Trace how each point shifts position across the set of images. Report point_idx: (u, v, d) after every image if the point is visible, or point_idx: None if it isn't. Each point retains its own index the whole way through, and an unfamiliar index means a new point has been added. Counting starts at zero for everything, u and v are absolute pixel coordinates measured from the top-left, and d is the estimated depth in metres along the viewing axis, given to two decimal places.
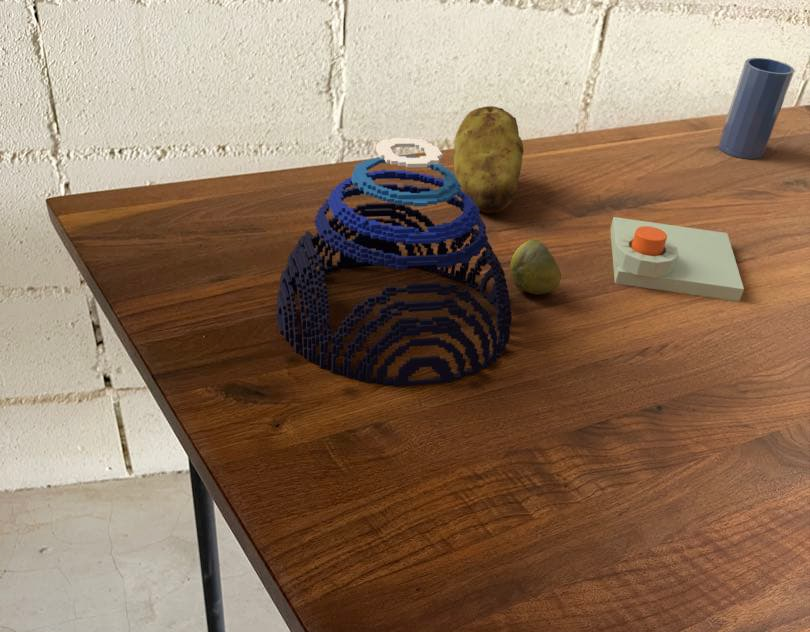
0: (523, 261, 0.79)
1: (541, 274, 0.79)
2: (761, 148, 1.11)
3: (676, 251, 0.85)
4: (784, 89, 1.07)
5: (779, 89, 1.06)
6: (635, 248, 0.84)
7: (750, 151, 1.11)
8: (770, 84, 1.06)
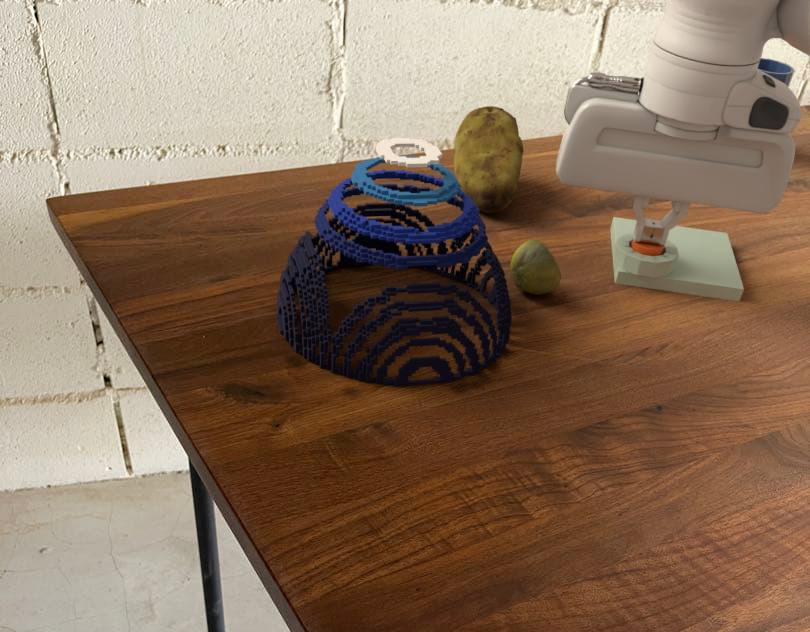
0: (523, 260, 0.79)
1: (541, 274, 0.79)
2: None
3: (676, 251, 0.85)
4: None
5: None
6: None
7: None
8: None
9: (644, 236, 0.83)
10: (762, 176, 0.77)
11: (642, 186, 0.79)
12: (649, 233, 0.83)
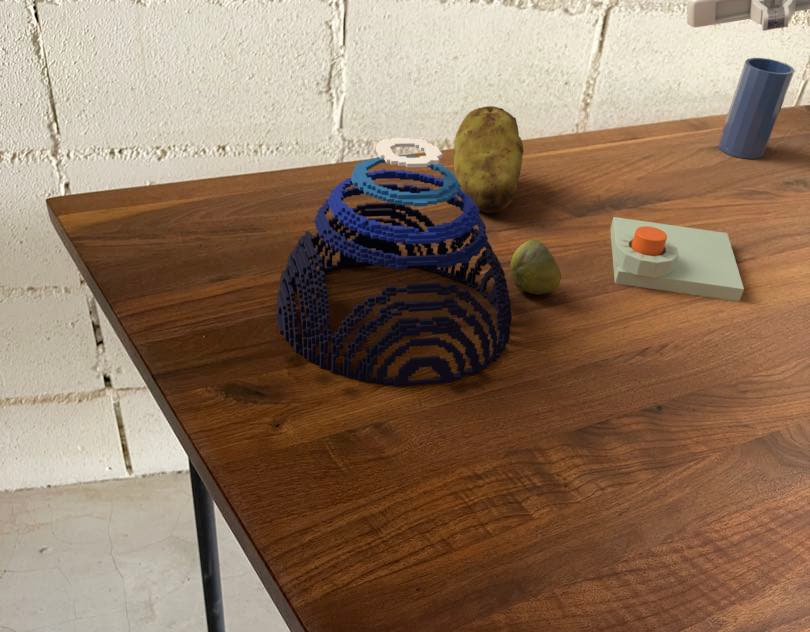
0: (523, 260, 0.79)
1: (541, 275, 0.79)
2: (761, 148, 1.11)
3: (676, 251, 0.85)
4: (784, 89, 1.07)
5: (779, 89, 1.06)
6: (635, 248, 0.84)
7: (750, 151, 1.11)
8: (770, 84, 1.06)
9: (770, 14, 1.07)
10: None
11: None
12: (773, 11, 1.07)
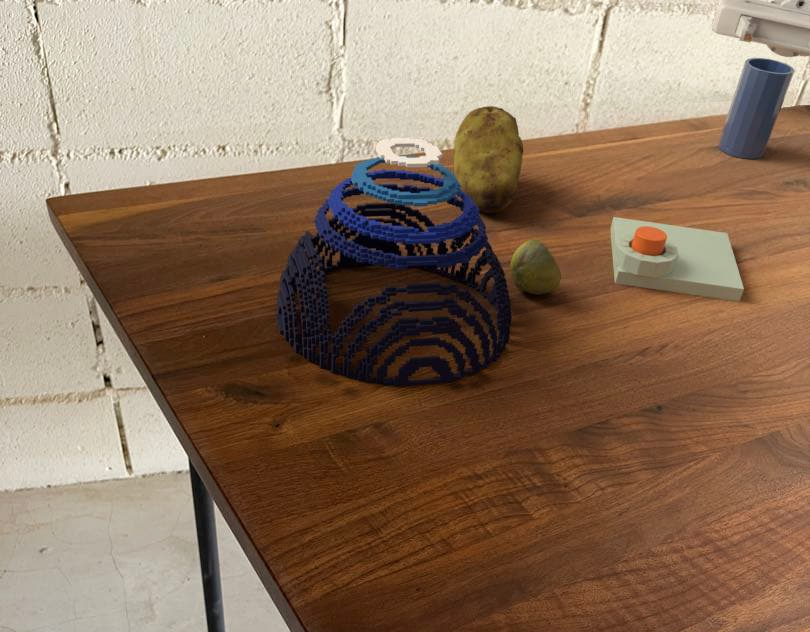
0: (523, 261, 0.79)
1: (541, 275, 0.79)
2: (761, 148, 1.11)
3: (676, 251, 0.85)
4: (784, 89, 1.07)
5: (779, 89, 1.06)
6: (635, 248, 0.84)
7: (750, 151, 1.11)
8: (770, 84, 1.06)
9: (750, 27, 1.16)
10: None
11: (777, 14, 1.18)
12: (753, 26, 1.16)
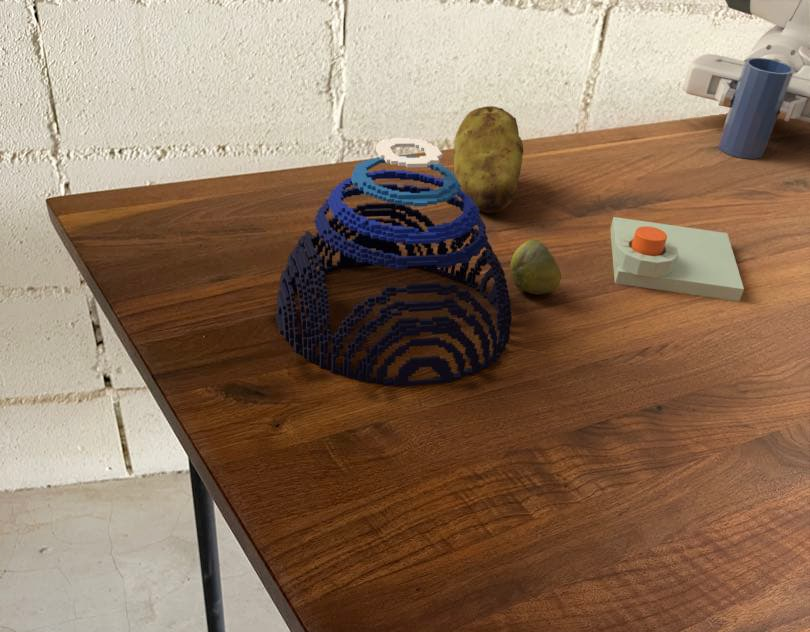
0: (523, 261, 0.79)
1: (541, 275, 0.79)
2: (761, 148, 1.11)
3: (676, 251, 0.85)
4: (784, 89, 1.07)
5: (779, 89, 1.06)
6: (635, 248, 0.84)
7: (750, 151, 1.11)
8: (770, 84, 1.06)
9: (730, 92, 1.10)
10: None
11: None
12: (733, 90, 1.10)
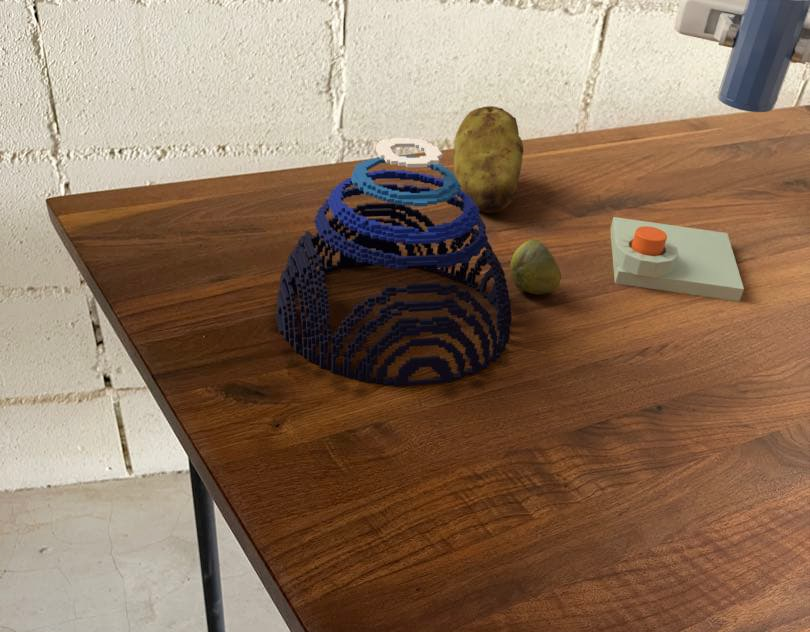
0: (523, 261, 0.79)
1: (541, 275, 0.79)
2: (771, 98, 0.89)
3: (676, 251, 0.85)
4: (801, 21, 0.84)
5: (794, 21, 0.84)
6: (635, 248, 0.84)
7: (757, 102, 0.89)
8: (783, 14, 0.83)
9: (732, 28, 0.88)
10: None
11: None
12: (737, 26, 0.88)
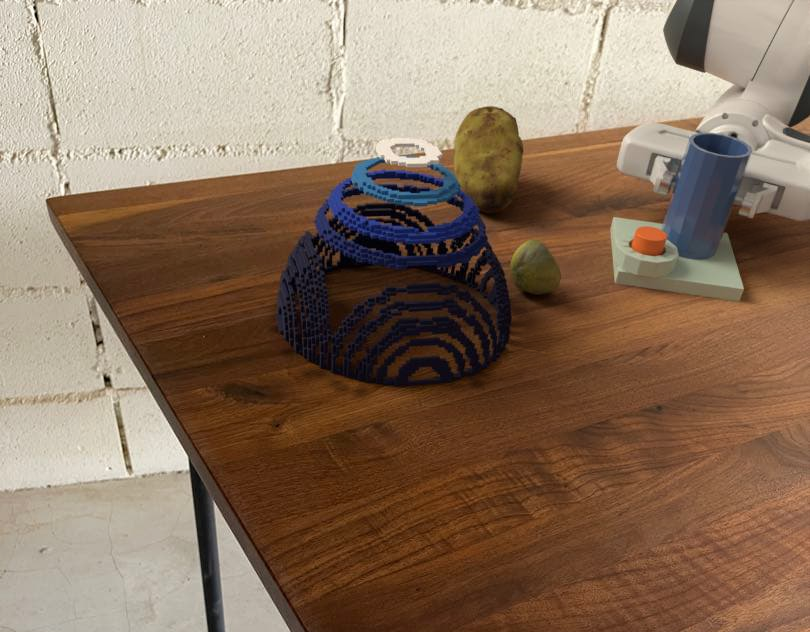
0: (523, 261, 0.79)
1: (541, 275, 0.79)
2: (712, 246, 0.87)
3: (676, 251, 0.85)
4: (739, 175, 0.82)
5: (732, 176, 0.82)
6: (635, 248, 0.84)
7: (698, 250, 0.87)
8: (720, 170, 0.81)
9: (666, 176, 0.86)
10: (802, 171, 0.87)
11: None
12: (671, 174, 0.86)
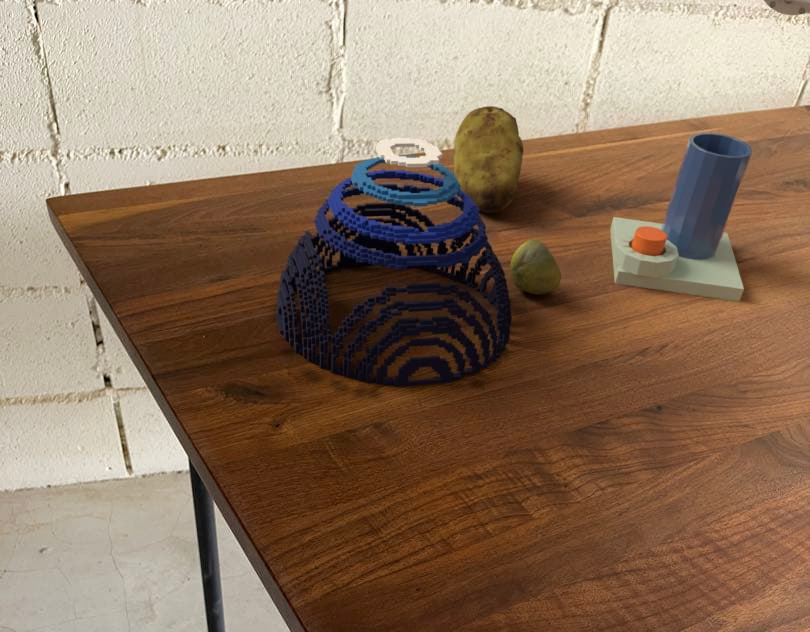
0: (523, 261, 0.79)
1: (541, 275, 0.79)
2: (712, 246, 0.87)
3: (676, 251, 0.85)
4: (739, 175, 0.82)
5: (732, 176, 0.82)
6: (635, 248, 0.84)
7: (698, 250, 0.87)
8: (720, 170, 0.81)
9: None
10: None
11: None
12: None
